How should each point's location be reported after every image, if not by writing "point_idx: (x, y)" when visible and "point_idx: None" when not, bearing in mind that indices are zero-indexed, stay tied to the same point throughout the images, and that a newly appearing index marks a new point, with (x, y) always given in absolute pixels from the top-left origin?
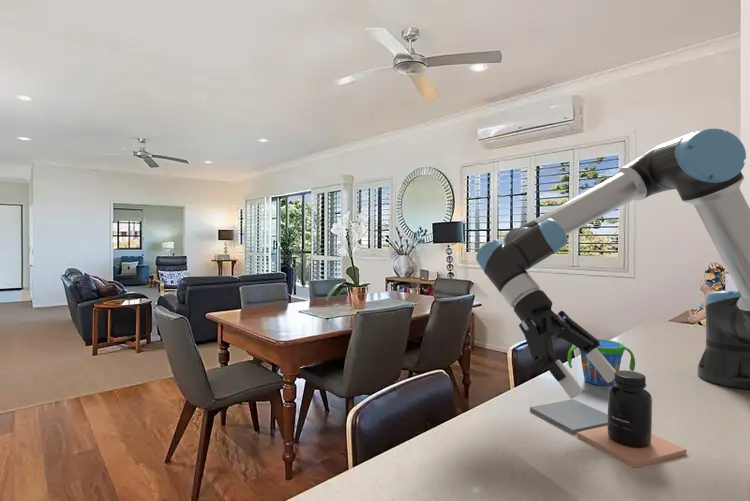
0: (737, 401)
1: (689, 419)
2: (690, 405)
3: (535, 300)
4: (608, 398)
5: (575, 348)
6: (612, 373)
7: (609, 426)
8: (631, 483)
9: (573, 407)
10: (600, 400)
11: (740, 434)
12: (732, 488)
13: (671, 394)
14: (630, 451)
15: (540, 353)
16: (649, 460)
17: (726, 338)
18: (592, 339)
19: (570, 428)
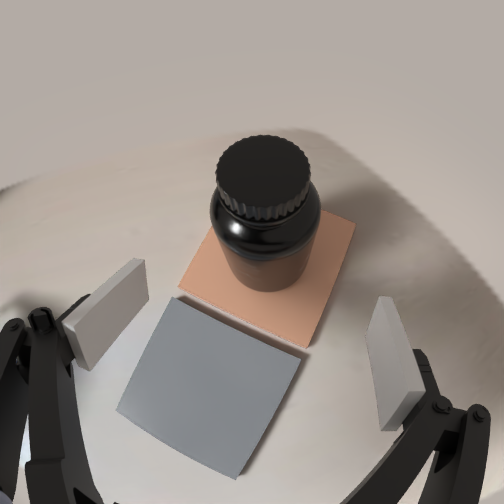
0: (17, 188)
1: (91, 211)
2: (40, 225)
3: None
4: (292, 258)
5: None
6: (137, 275)
7: (296, 276)
8: (400, 221)
9: (164, 400)
10: (75, 359)
11: (119, 154)
12: (308, 135)
13: (10, 257)
14: (319, 240)
15: (487, 434)
16: (324, 211)
17: None
18: (16, 341)
19: (297, 366)
